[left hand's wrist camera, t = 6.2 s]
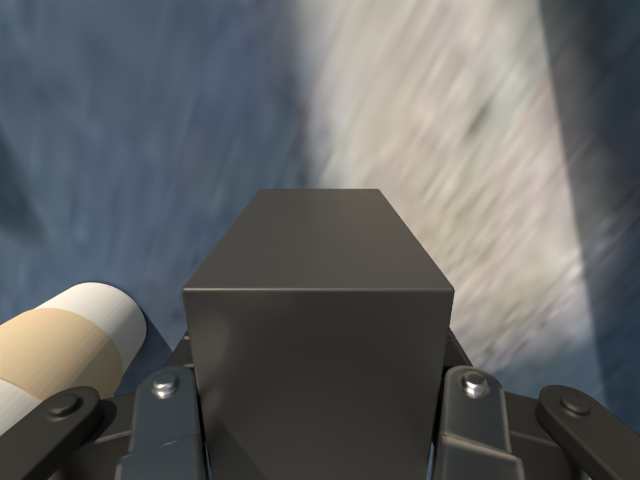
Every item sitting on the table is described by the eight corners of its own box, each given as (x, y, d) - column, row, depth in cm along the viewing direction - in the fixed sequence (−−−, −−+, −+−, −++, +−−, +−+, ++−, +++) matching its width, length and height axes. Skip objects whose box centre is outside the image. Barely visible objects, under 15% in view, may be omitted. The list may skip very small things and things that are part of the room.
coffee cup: (61, 372, 28) (-202, 635, 14) (23, 271, 25) (-365, 477, 11) (171, 368, 28) (20, 629, 14) (147, 266, 25) (-80, 469, 11)
